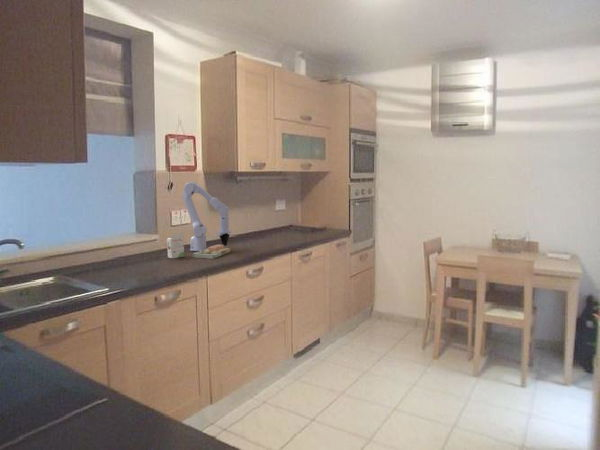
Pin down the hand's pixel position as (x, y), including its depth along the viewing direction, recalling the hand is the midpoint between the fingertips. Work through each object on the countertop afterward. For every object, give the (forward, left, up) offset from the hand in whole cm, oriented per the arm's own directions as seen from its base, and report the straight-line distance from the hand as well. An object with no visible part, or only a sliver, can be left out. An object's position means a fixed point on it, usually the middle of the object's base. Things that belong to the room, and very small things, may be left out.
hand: (224, 245), depth 286 cm
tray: (0, -22, -3) cm, 22 cm away
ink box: (-17, -29, -3) cm, 34 cm away
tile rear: (0, -8, -1) cm, 8 cm away
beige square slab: (0, -11, -3) cm, 11 cm away
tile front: (0, -14, -1) cm, 14 cm away
